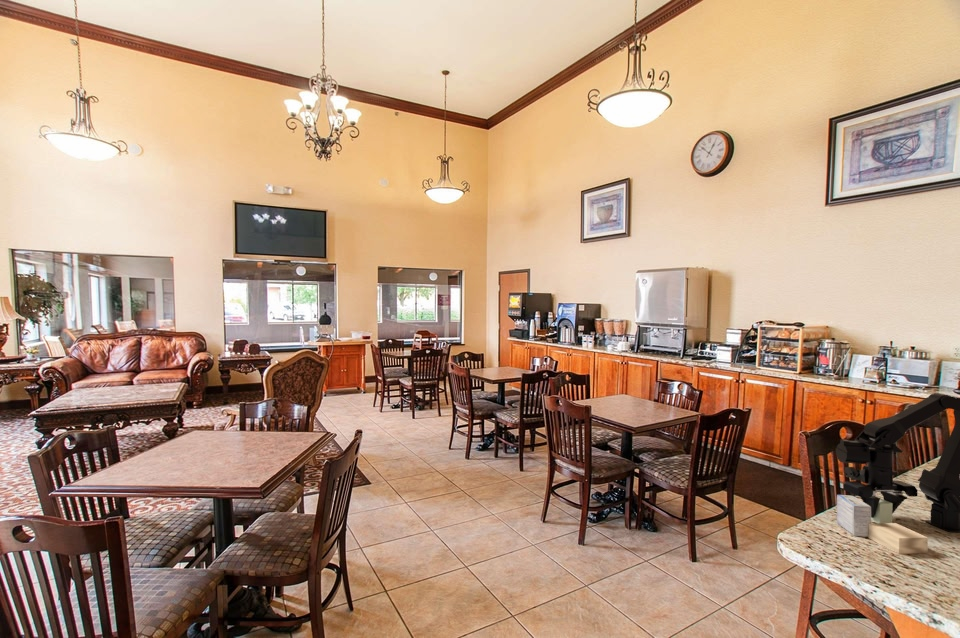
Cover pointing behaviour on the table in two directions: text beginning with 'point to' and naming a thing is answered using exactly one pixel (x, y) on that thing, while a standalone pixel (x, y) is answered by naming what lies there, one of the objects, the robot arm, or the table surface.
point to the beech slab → (898, 538)
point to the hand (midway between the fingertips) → (879, 517)
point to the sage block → (883, 512)
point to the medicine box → (853, 515)
